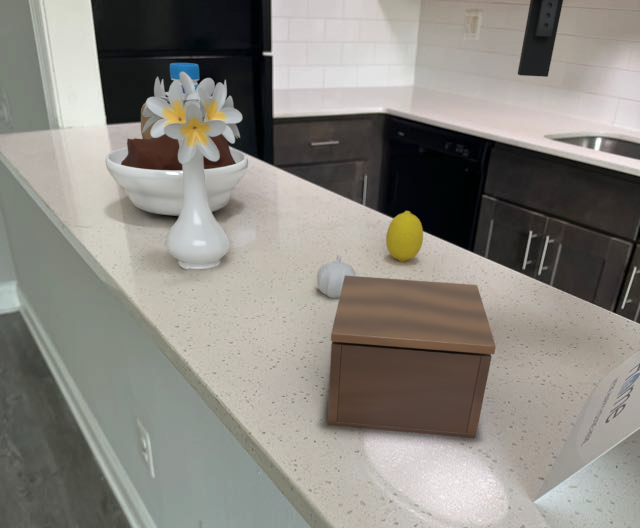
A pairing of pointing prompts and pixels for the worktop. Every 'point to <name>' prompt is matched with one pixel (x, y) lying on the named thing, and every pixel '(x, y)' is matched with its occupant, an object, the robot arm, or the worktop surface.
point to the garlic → (333, 277)
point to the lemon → (404, 236)
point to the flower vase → (194, 162)
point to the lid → (412, 315)
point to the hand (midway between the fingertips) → (532, 75)
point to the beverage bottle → (188, 68)
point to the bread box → (406, 389)
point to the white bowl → (172, 173)
